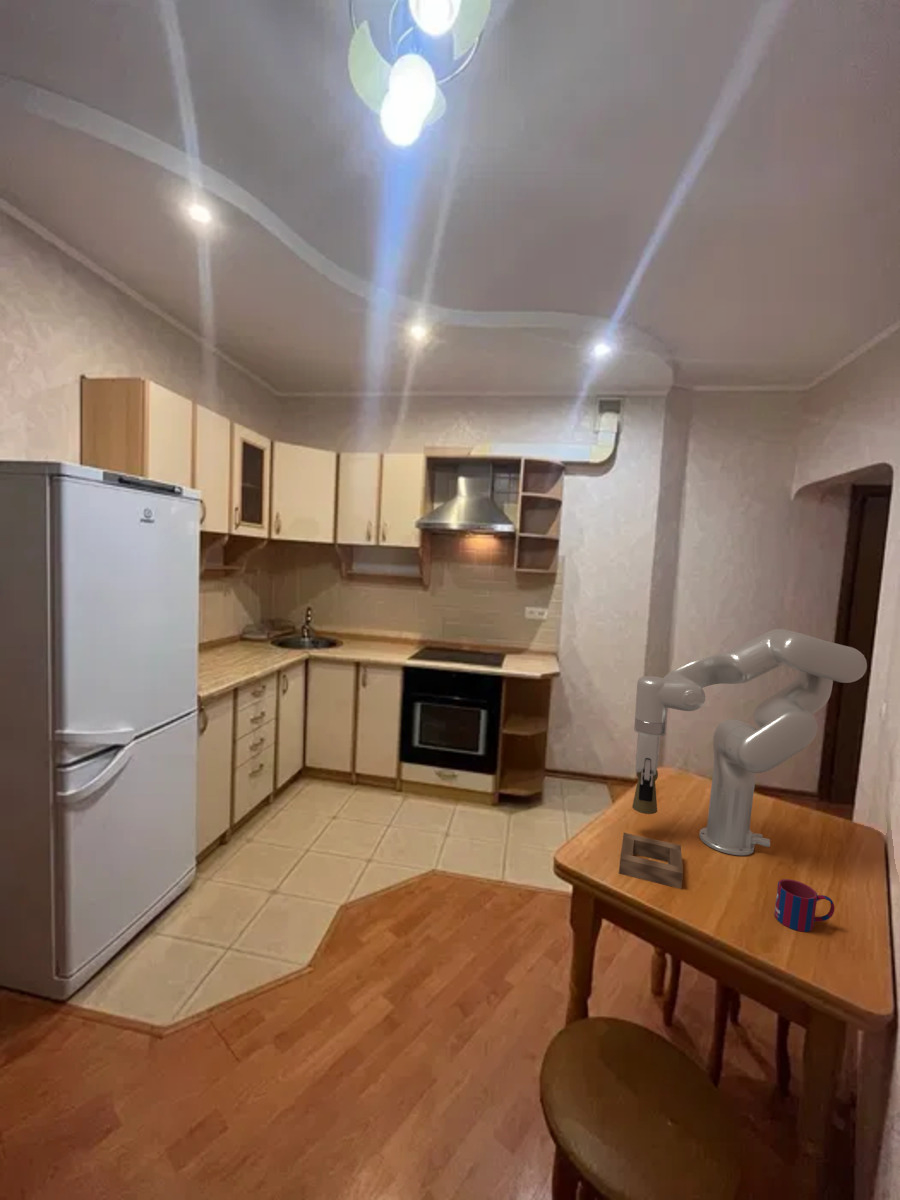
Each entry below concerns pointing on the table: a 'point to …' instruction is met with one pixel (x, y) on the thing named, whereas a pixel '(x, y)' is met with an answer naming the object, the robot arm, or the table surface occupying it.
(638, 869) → the walnut holder
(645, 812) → the olive knobbed peg
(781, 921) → the mug
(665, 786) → the table surface
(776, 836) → the table surface
